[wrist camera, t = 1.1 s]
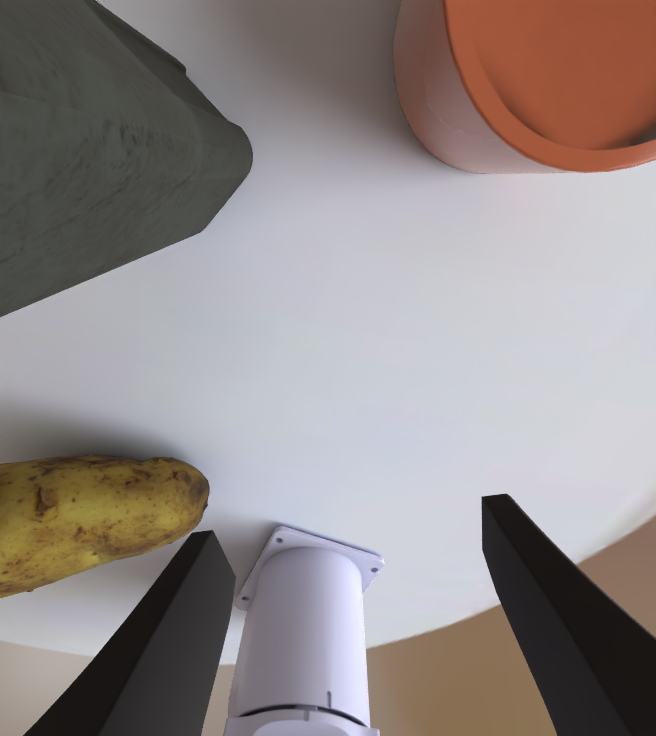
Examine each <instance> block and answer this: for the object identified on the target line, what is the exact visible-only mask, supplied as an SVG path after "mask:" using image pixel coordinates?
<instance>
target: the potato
mask: <svg viewBox="0 0 656 736" xmlns="http://www.w3.org/2000/svg"><path fill="white" fill-rule="evenodd" d="M209 490H210V487H209V483H208V480H207V479H206V478H205V477H204V475H203V474H202V473H201V472H200V471H199V470H197V469H196V468H195V467H193V466H191V465H189V464H187V463H185V462H183V461H180V460H177V459H174V458H172V457H171V458H166V457H155V458H152V459H149V460H147V461H145V462H142V461H138V460H134V459H128V458H123V457H116V456H100V455H93V456H90V455H83V456H65V457H55V458H47V459H40V460H32V461H24V462H16V463H6V464H0V598H4V597H7V596H11V595H14V594H18V593H21V592H25V591H28V592H31V591H33V590H34V589H35V588H38V587H41V586H44V585H47V584H50V583H53V582H56V581H59V580H61V579H64V578H67V577H69V576H72V575H75V574H78V573H80V572H83V571H86V570H88V569H91V568H93V567H96V566H98V565H101V564H104V563H108V562H111V561H114V560H118V559H123V558H128V557H132V556H136V555H140V554H143V553H146V552H149V551H152V550H155V549H157V548H160V547H162V546H165V545H167V544H169V543H172V542H173V541H175V540H177V539H179V538H181V537H183V536H185V535H186V534H187V533H189V532H190V531H192V530H193V529H194V528H195V527H196V526H197V525H198V524H199V522H200V521H201V519H202V516H203V513H204V510H205V509H206V507H207V506H208V504H207V501H208V496H209Z"/></svg>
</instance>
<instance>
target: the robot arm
mask: <svg viewBox="0 0 656 736" xmlns="http://www.w3.org/2000/svg"><path fill="white" fill-rule="evenodd" d="M482 550H483V553H484V556H485V559H486V563H487V566H488V569H489V572H490V575H491V578H492V581H493V584H494V587H495V590H496V593H497V595H498V597H499V600H500V602H501V604H502V607H503V609H504V611H505V614H506V616H507V618H508V620H509V623H510V625H511V627H512V630H513V632H514V634H515V636H516V639H517V641H518V643H519V646H520V648H521V650H522V652H523V655H524V657H525V659H526V661H527V664H528V666H529V668H530V671H531V673H532V675H533V677H534V679H535V682H536V684H537V686H538V689H539V691H540V693H541V695H542V698H543V700H544V703H545V705H546V707H547V709H548V712H549V715H550V717H551V720H552V722H553V725H554V727H555V730H556V733H557V736H656V637H654V636H653V635H652V634H651V633H650V632H648V631H647V630H646V629H645V628H644V627H643V626H642V625H640V624H639V623H638V622H637V621H636V620H635V619H634V618H632V617H631V616H630V615H629V614H628V613H627V612H626V611H624V610H623V609H622V608H621V607H620V606H619V605H618V604H617V603H616V602H614V601H613V600H612V599H611V598H610V597H609V596H608V595H607V594H606V593H605V592H604V591H603V590H601V589H600V588H599V587H598V586H597V585H596V584H595V583H594V582H593V581H592V580H591V579H590V578H589V577H588V576H587V575H586V574H585V573H584V572H582V571H581V570H580V569H579V568H578V567H577V566H576V565H575V564H574V563H573V562H572V561H571V560H570V559H569V558H568V557H567V556H566V555H565V554H564V553H563V552H562V551H561V550H560V549H559V548H558V547H557V546H556V545H555V544H554V543H553V542H552V541H551V540H550V539H549V538H548V537H547V536H546V535H545V534H544V532H543V531H542V530H541V529H540V528H539V527H538V526H537V525H536V524H535V523H534V522H533V521H532V520H531V519H530V518H529V516H528V515H527V514H526V513H525V512H524V511H523V510H522V509H521V508H520V507H519V505H518V504H517V503H516V502H515V501H514V500H513V499H512V497H511V496H509V495H508V494H500V495H492V496H484V497H482ZM384 566H385V564H384V559H383V558H382V557H380V556H377V555H373V554H370V553H367V552H364V551H361V550H358V549H354V548H351V547H348V546H345V545H342V544H339V543H335V542H332V541H329V540H326V539H323V538H320V537H316V536H313V535H310V534H307V533H304V532H300V531H297V530H294V529H291V528H288V527H285V526H279V527H276V528H275V530H274V532H273V533H272V535H271V537H270V539H269V541H268V542H267V544H266V546H265V548H264V550H263V552H262V553H261V555H260V557H259V559H258V561H257V562H256V564H255V566H254V568H253V570H252V572H251V573H250V575H249V577H248V579H247V581H246V582H245V584H244V586H243V588H242V590H241V592H240V593H239V595H238V597H237V599H236V602H235V606H236V607H237V608H239V609H242V610H246V611H247V613H246V618H245V623H244V628H243V632H242V637H241V642H240V647H239V652H238V657H237V662H236V666H235V671H234V676H233V681H232V686H231V691H230V696H229V703H228V718H227V719H226V724H225V729H224V734H223V736H380V734H379V730H378V729H374V728H370V715H369V698H368V682H367V667H366V649H365V633H364V616H363V600H362V594H363V592H364V591H365V590H366V589H367V587H368V586H369V585H370V584H371V582H372V581H373V580H374V579H375V577H376V576H377V575H378V574H379V573H380V571H381V570H382V569H383V568H384ZM235 579H236V576H235V574H234V572H233V570H232V568H231V566H230V564H229V562H228V560H227V558H226V556H225V554H224V552H223V550H222V548H221V546H220V544H219V541H218V539H217V537H216V535H215V533H214V531H213V530H210V531H202V532H194V533H192V534H191V535H190V536H189V537H188V539H187V540H186V541H185V543H184V544H183V545H182V547H181V548H180V549H179V551H178V552H177V553H176V555H175V556H174V557H173V559H172V560H171V561H170V563H169V564H168V565H167V567H166V568H165V569H164V571H163V572H162V573H161V575H160V576H159V577H158V579H157V580H156V581H155V582H154V584H153V585H152V586H151V588H150V589H149V590H148V592H147V593H146V594H145V596H144V597H143V598H142V599H141V601H140V602H139V603H138V605H137V606H136V607H135V608H134V610H133V611H132V612H131V614H130V615H129V616H128V617H127V619H126V620H125V621H124V622H123V624H122V625H121V626H120V627H119V629H118V630H117V631H116V632H115V633H114V635H113V636H112V637H111V638H110V640H109V641H108V642H107V643H106V644H105V646H104V647H103V648H102V649H101V650H100V652H99V653H98V654H97V655H96V657H95V658H94V659H93V660H92V662H91V663H90V664H89V665H88V666H87V667H86V668H85V669H84V671H83V672H82V673H81V674H80V675H79V676H78V677H77V679H76V680H75V681H74V682H73V683H72V684H71V685H70V686H69V688H68V689H67V690H66V691H65V692H64V693H63V694H62V695H61V696H60V697H59V699H57V701H56V702H55V703H54V704H53V705H52V706H51V707H50V708H49V709H48V710H47V711H46V712H45V714H44V715H43V716H42V717H41V718H40V719H39V720H38V721H37V722H36V723H35V724H34V725H33V726H32V727H31V728H30V729H29V730H28V731H27V732H26V733H25V734H24V735H23V736H201V732H202V728H203V724H204V719H205V716H206V711H207V708H208V704H209V700H210V696H211V692H212V688H213V684H214V680H215V677H216V672H217V669H218V665H219V661H220V657H221V653H222V649H223V645H224V641H225V637H226V633H227V629H228V625H229V621H230V615H231V609H232V602H233V595H234V587H235Z"/></svg>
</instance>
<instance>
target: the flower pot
mask: <svg viewBox="0 0 656 736" xmlns="http://www.w3.org/2000/svg"><path fill="white" fill-rule="evenodd" d="M393 66H394V79H395V84H396V90H397V95H398V98H399V102H400V105H401V108H402V111H403V113H404V116H405V118H406V120H407V122H408V124H409V126H410V128H411V129H412V131H413V133H414V134H415V136H416V137H417V139H418V140H419V141H420V142H421V143H422V145H423V146H424V147H425V148H426V149H427V150H428V151H429V152H430V153H432V154H433V155H434V156H435V157H436V158H438V159H440V160H441V161H443V162H444V163H446V164H448V165H450V166H452V167H455V168H457V169H460V170H464V171H468V172H472V173H482V174H499V173H592V172H609V171H615V170H620V169H626V168H631V167H635V166H638V165H641V164H644V163H647V162H650V161H654V160H656V0H401V4H400V8H399V12H398V16H397V21H396V27H395V35H394V46H393Z"/></svg>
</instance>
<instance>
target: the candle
mask: <svg viewBox="0 0 656 736" xmlns="http://www.w3.org/2000/svg"><path fill="white" fill-rule="evenodd" d="M185 73H186V68H185V66H184V65H183V64H181V63H180V62H179V61H178V60H177V59H176V58H174V57H173V56H171V55H170V54H169V53H167V52H166V51H165V50H163V49H162V48H160V47H159V46H158V45H156V44H155V43H153V42H152V41H151V40H149V39H148V38H147V37H145V36H144V35H142V34H141V33H140V32H138V31H137V30H135V29H134V28H133V27H131V26H130V25H129V24H127V23H126V22H124V21H123V20H122V19H120V18H119V17H117V16H116V15H115V14H113V13H112V12H111V11H109V10H108V9H106V8H105V7H104V6H102V5H101V4H99V3H98V2H97V1H95V0H0V317H2V316H4V315H7V314H9V313H11V312H14V311H16V310H18V309H21V308H23V307H25V306H28V305H30V304H33V303H35V302H37V301H40V300H42V299H44V298H47V297H49V296H51V295H54V294H56V293H59V292H61V291H63V290H66V289H68V288H70V287H73V286H75V285H77V284H80V283H82V282H85V281H87V280H89V279H92V278H94V277H96V276H99V275H101V274H103V273H106V272H108V271H111V270H113V269H115V268H118V267H120V266H122V265H125V264H127V263H129V262H132V261H134V260H136V259H139V258H141V257H144V256H146V255H148V254H151V253H153V252H155V251H158V250H160V249H162V248H165V247H167V246H170V245H172V244H174V243H177V242H179V241H181V240H184V239H186V238H188V237H191V236H193V235H195V234H198V233H200V232H201V231H202V230H203V229H205V228H206V226H207V225H208V224H209V223H210V222H211V220H212V219H213V218H214V217H215V215H216V214H217V213H218V212H219V210H220V209H221V208H222V207H223V205H224V204H225V203H226V202H227V200H228V199H229V198H230V197H231V196H232V194H233V193H234V192H235V191H236V189H237V188H238V187H239V186H240V184H241V183H242V182H243V181H244V179H245V178H246V177H247V175H248V173H249V172H250V169H251V165H252V157H253V153H252V148H251V144H250V141H249V139H248V137H247V135H246V134H245V132H244V131H243V130H242V128H241V127H239V126H237V125H235V124H233V123H231V122H229V121H228V120H227V119H226V118H225V117H224V116H223V115H222V114H221V113H220V112H219V111H218V110H217V109H216V108H215V106H214V105H213V104H212V103H211V102H210V101H209V100H208V99H207V98H206V97H205V96H204V95H203V94H202V92H201V91H200V90H199V89H198V88H197V87H196V86H195V85H194V84H193V83H192V82H191V81H190V80H189V78H188V77H187V76H186V74H185Z"/></svg>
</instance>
